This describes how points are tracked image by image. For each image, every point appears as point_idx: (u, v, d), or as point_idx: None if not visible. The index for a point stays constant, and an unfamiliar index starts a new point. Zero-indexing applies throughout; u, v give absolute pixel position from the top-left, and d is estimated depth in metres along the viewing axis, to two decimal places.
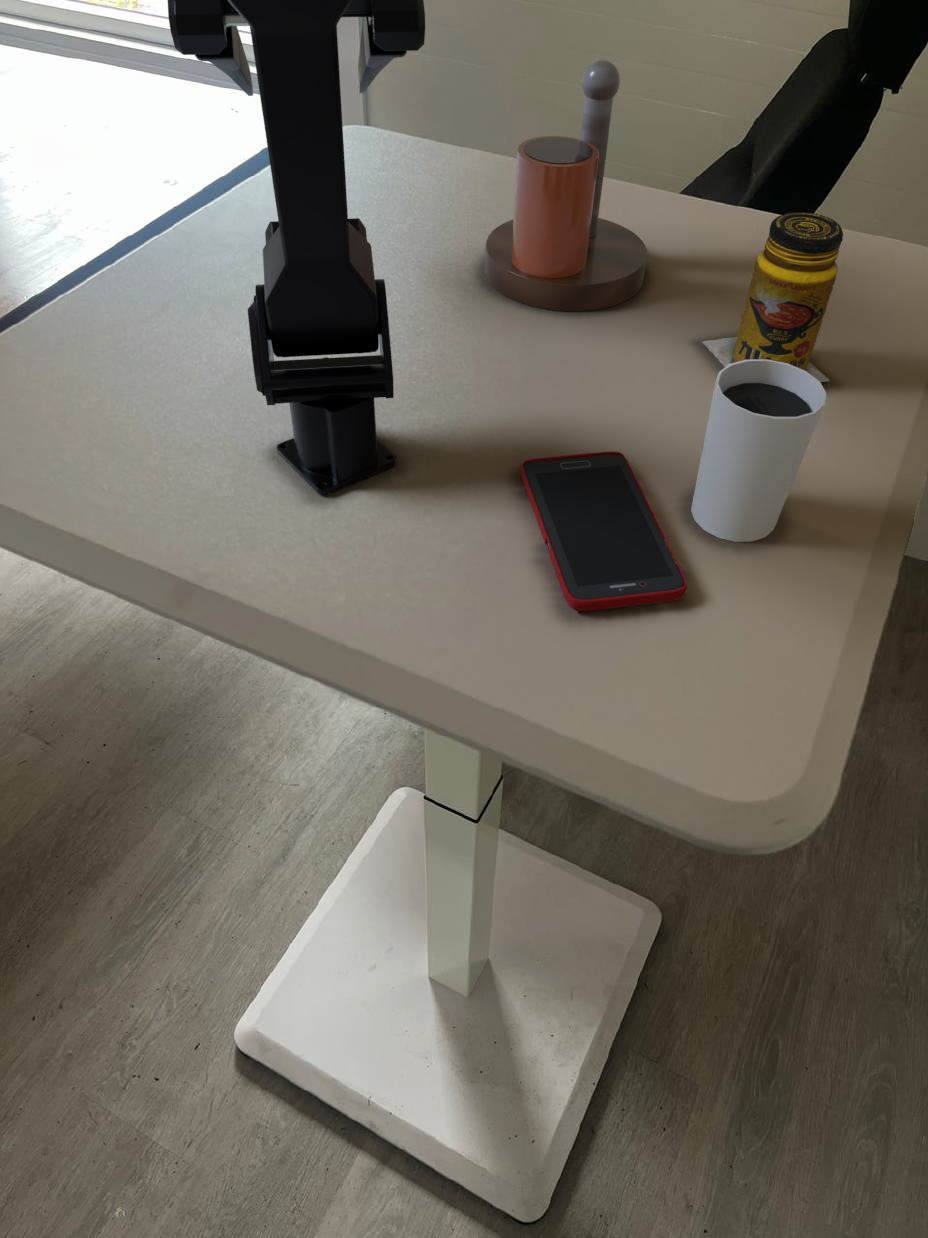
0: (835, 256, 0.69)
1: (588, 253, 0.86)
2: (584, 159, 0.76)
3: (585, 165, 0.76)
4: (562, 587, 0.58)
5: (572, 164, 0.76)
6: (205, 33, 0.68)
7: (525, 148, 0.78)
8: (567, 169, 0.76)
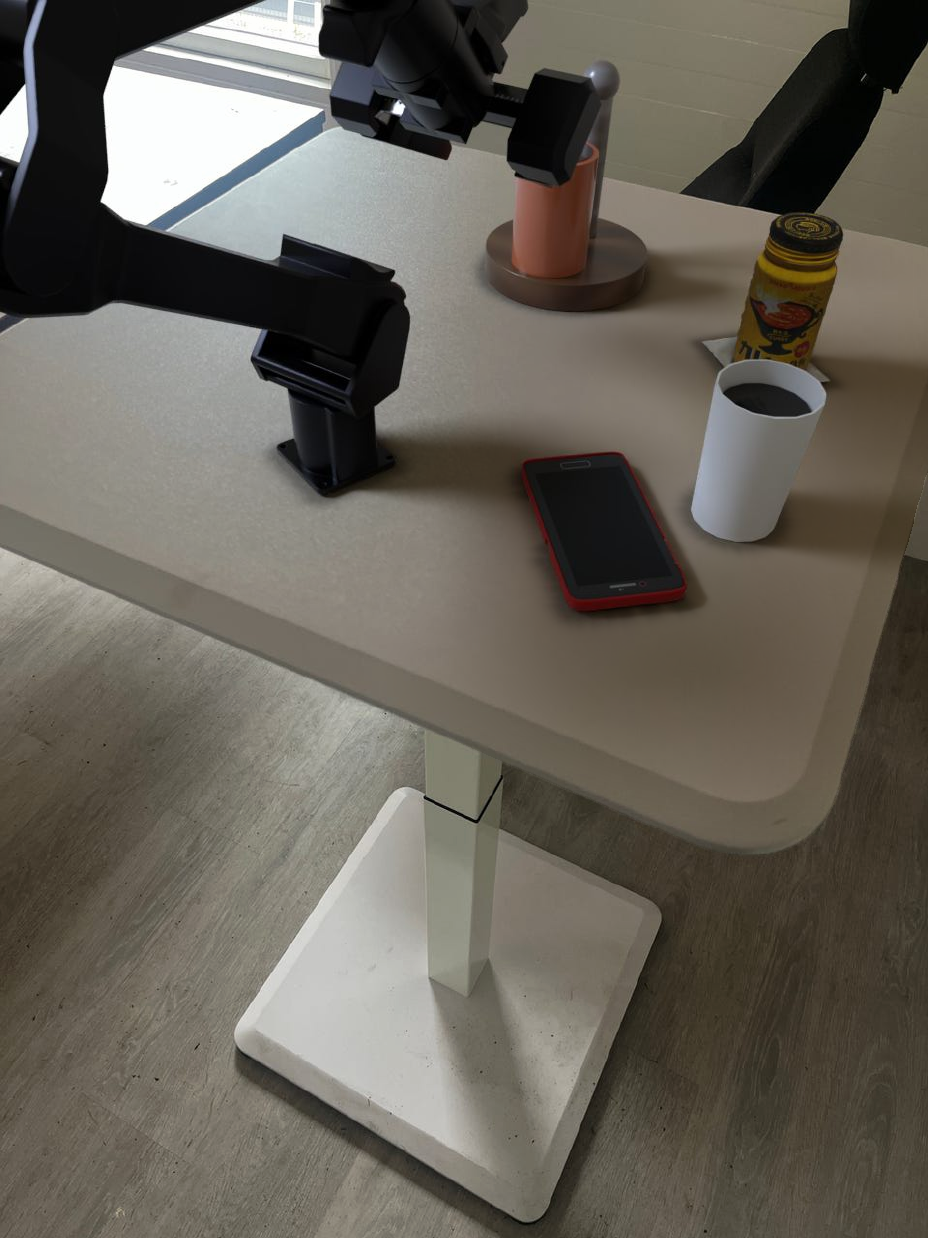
0: (835, 256, 0.69)
1: (588, 253, 0.86)
2: (584, 159, 0.76)
3: (585, 165, 0.76)
4: (562, 587, 0.58)
5: None
6: (354, 119, 0.65)
7: None
8: None
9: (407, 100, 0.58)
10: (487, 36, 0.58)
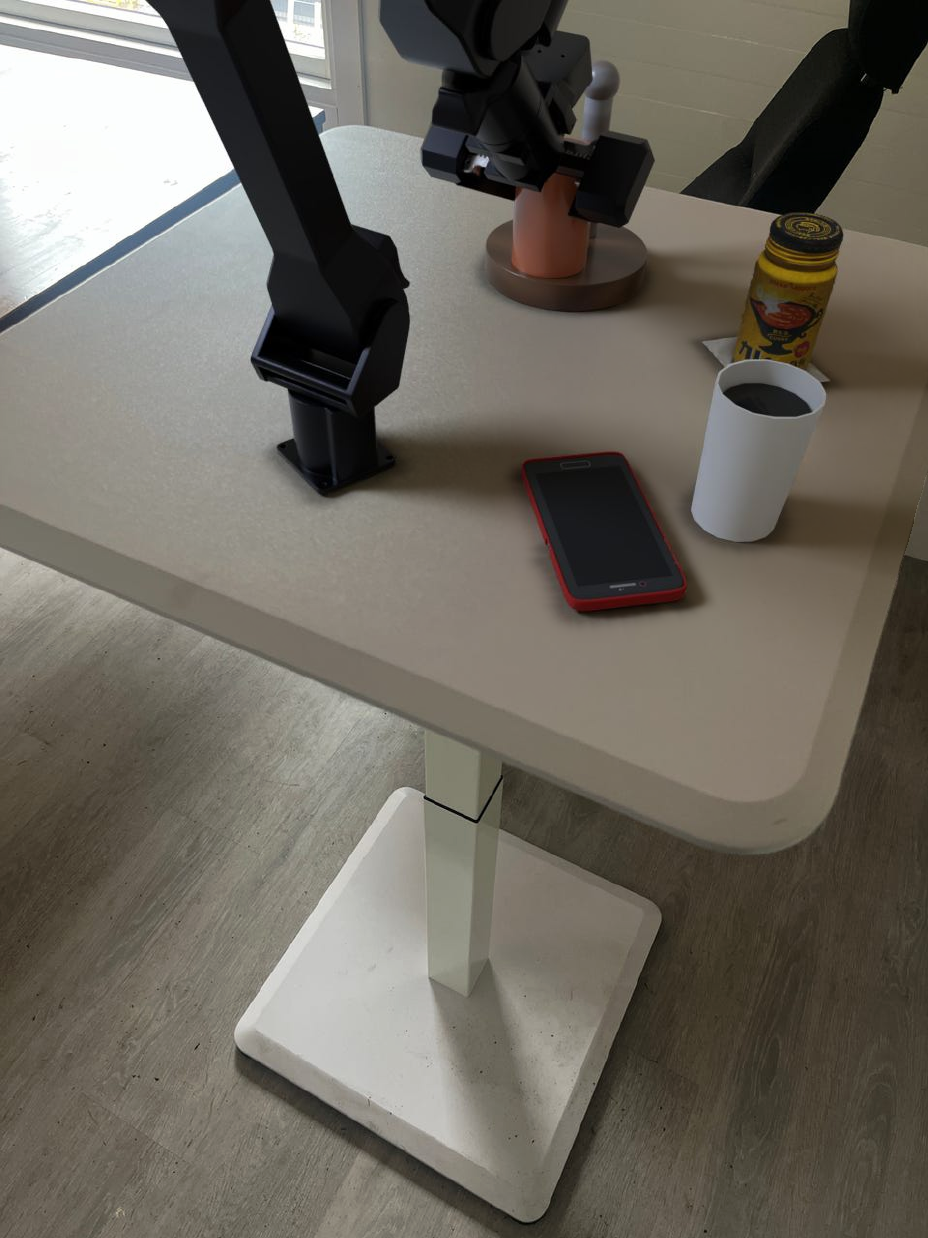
0: (835, 256, 0.69)
1: (588, 253, 0.86)
2: None
3: None
4: (562, 587, 0.58)
5: None
6: (442, 169, 0.76)
7: None
8: None
9: (495, 157, 0.70)
10: (561, 105, 0.70)
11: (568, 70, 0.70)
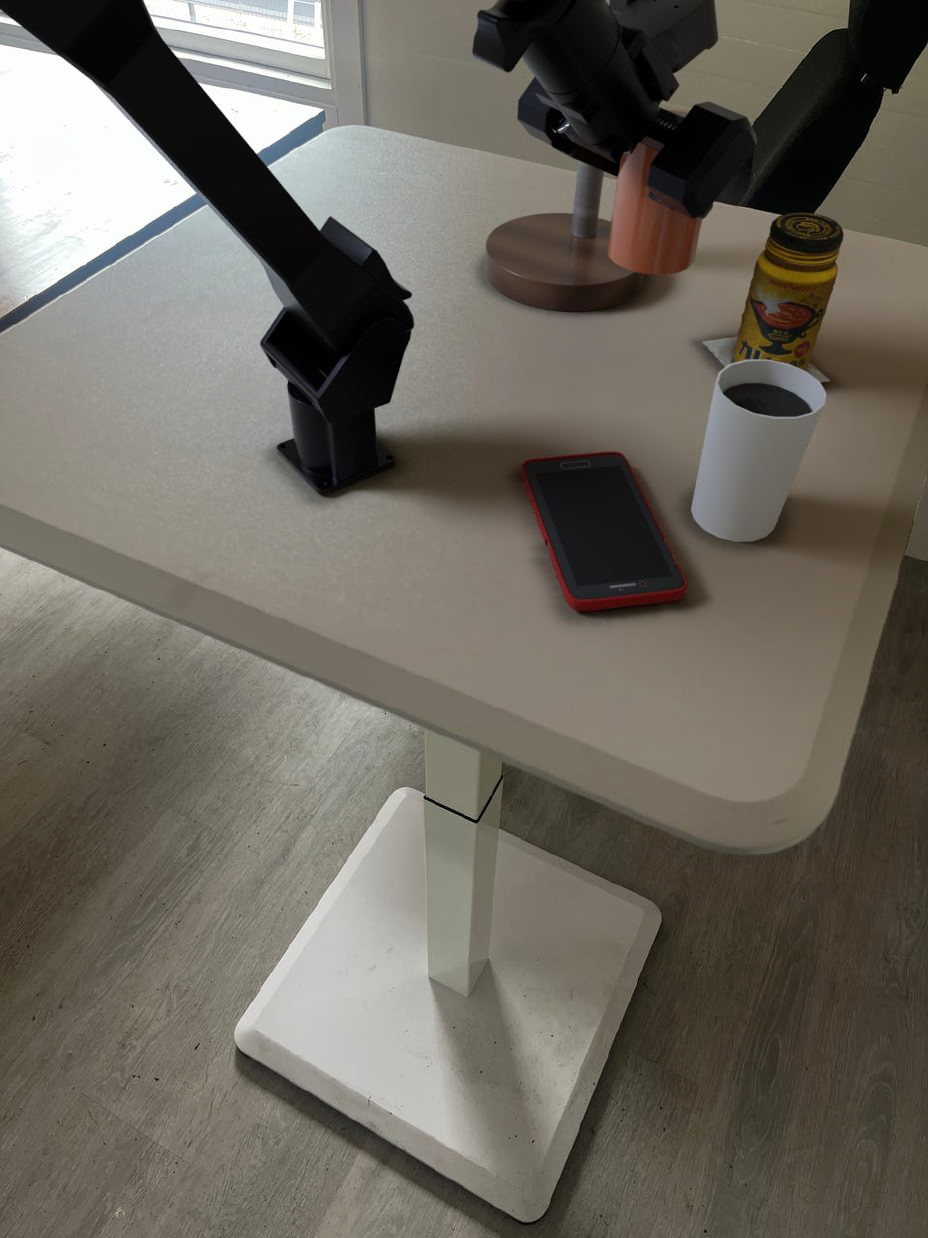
0: (835, 256, 0.69)
1: (588, 253, 0.86)
2: None
3: None
4: (562, 587, 0.58)
5: None
6: (533, 125, 0.68)
7: None
8: None
9: (562, 111, 0.61)
10: (654, 62, 0.59)
11: (674, 22, 0.59)
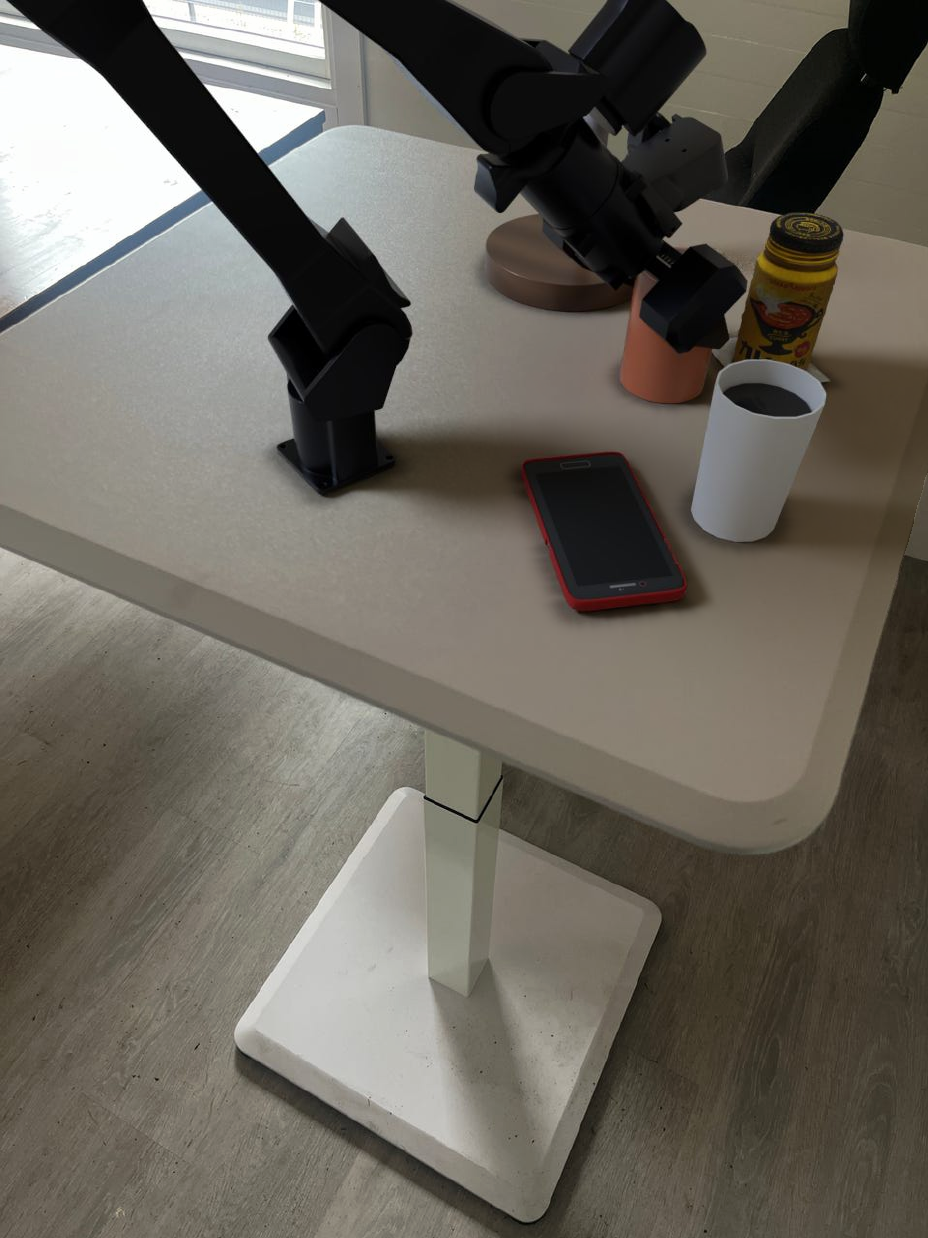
0: (835, 256, 0.69)
1: None
2: None
3: None
4: (562, 587, 0.58)
5: None
6: (554, 240, 0.71)
7: None
8: None
9: (565, 241, 0.63)
10: (653, 204, 0.61)
11: (677, 167, 0.61)
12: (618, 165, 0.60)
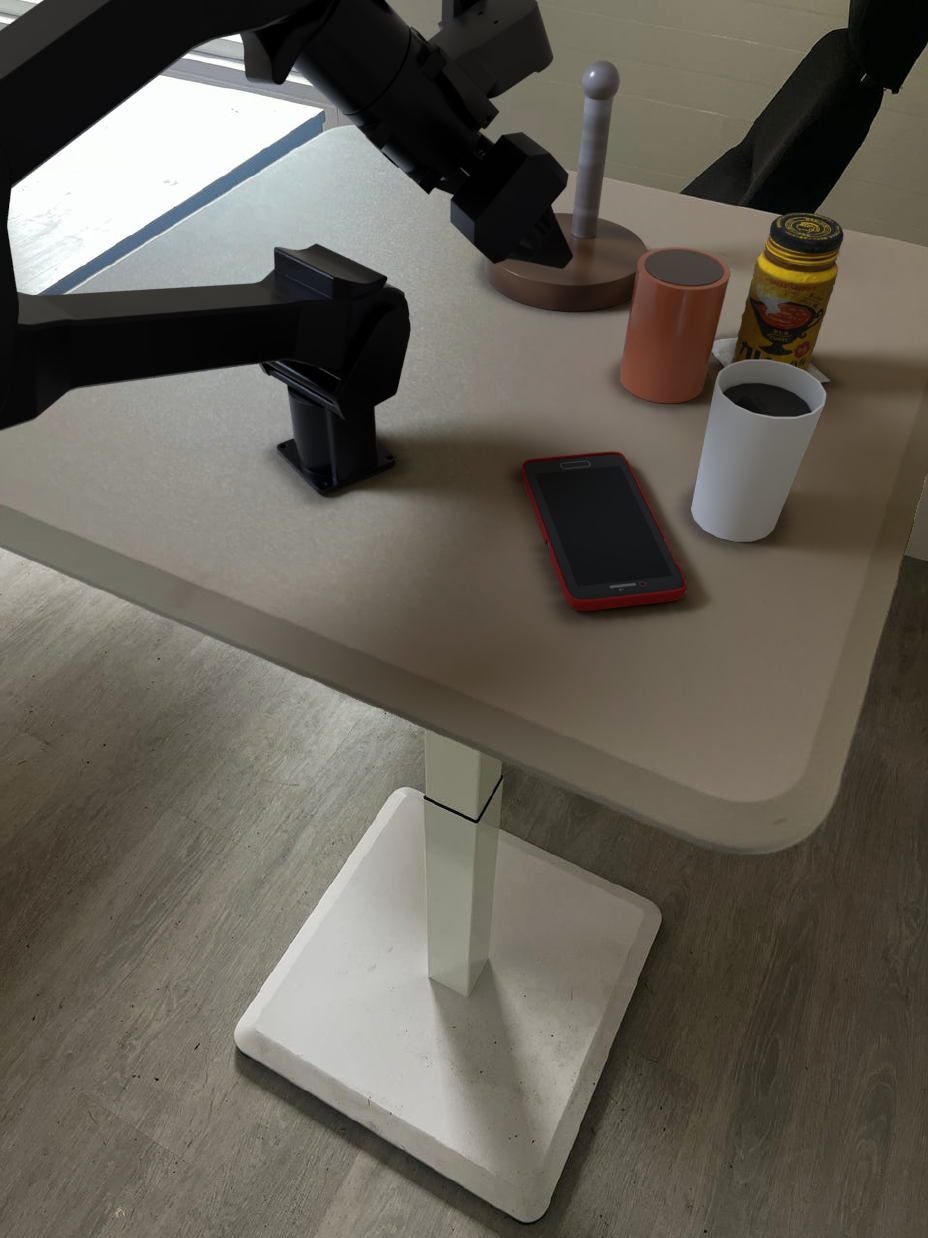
0: (835, 256, 0.69)
1: (588, 253, 0.86)
2: (698, 284, 0.67)
3: (693, 291, 0.67)
4: (562, 587, 0.58)
5: (678, 286, 0.67)
6: (376, 146, 0.62)
7: (651, 256, 0.70)
8: (670, 289, 0.67)
9: None
10: (459, 85, 0.52)
11: (485, 40, 0.51)
12: (412, 35, 0.50)
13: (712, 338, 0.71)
